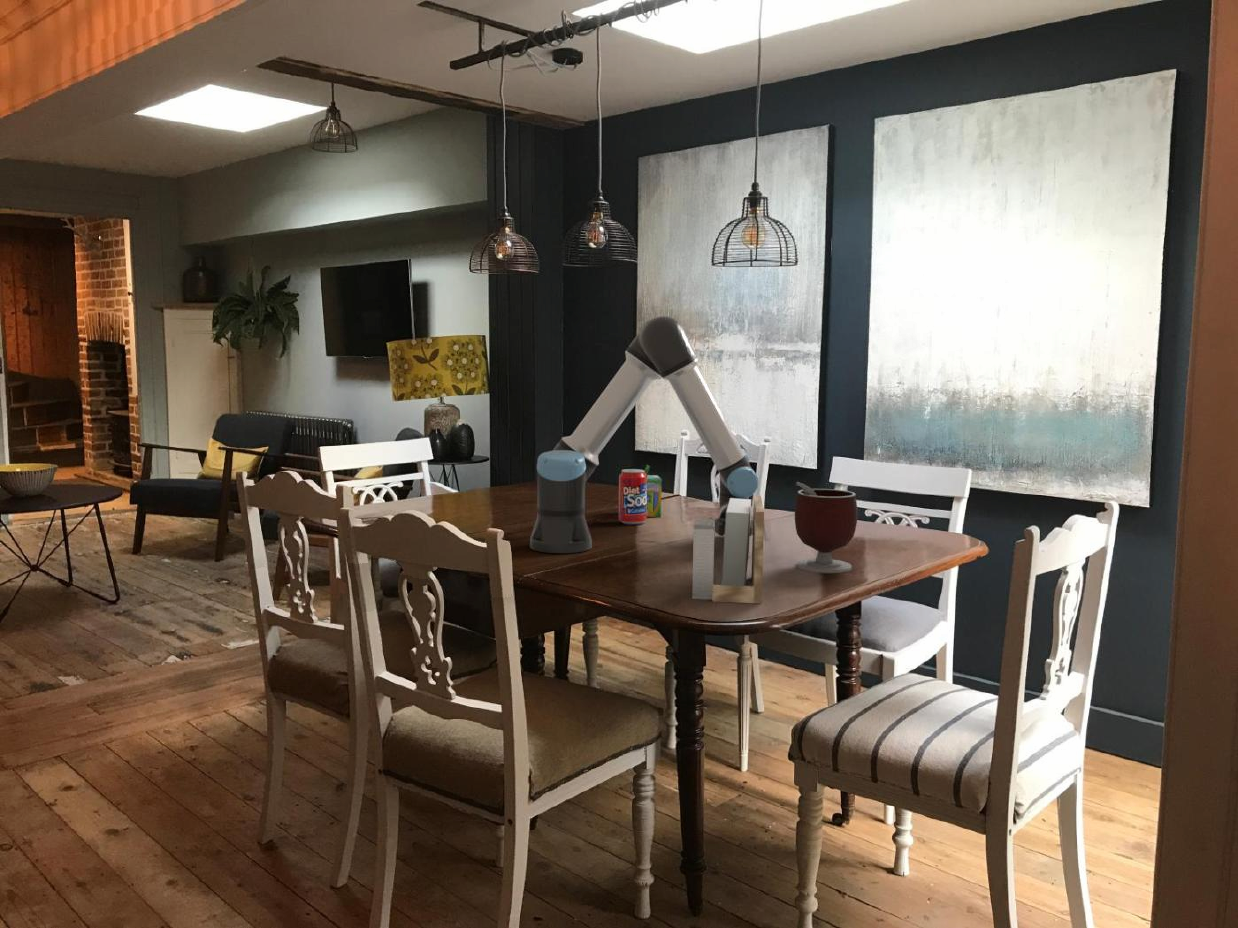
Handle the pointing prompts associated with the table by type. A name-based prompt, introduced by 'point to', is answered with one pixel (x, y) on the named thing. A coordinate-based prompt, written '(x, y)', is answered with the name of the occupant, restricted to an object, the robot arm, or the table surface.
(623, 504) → the soda can
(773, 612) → the table surface
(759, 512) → the oak shelf corner
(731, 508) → the skincare box
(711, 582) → the grey carton
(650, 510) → the juice box
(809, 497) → the mate gourd
